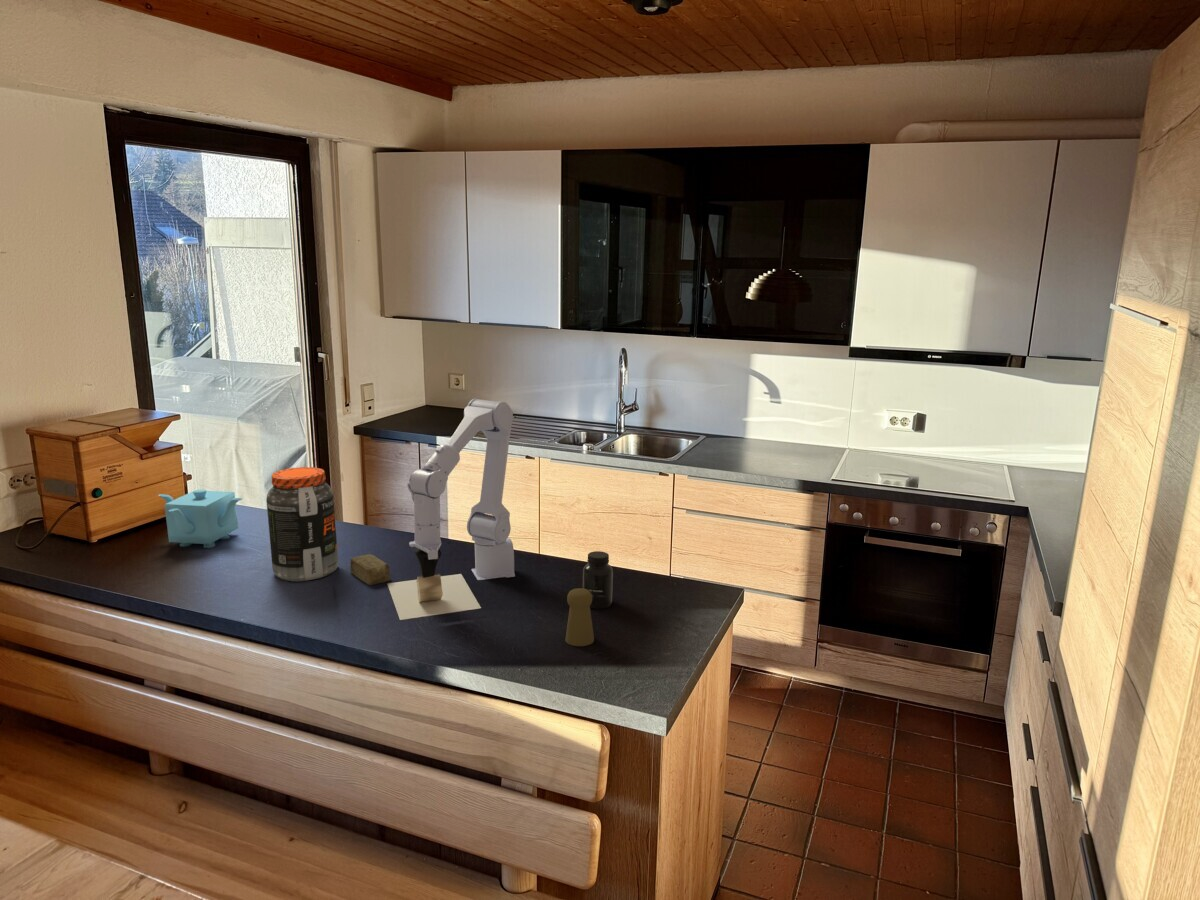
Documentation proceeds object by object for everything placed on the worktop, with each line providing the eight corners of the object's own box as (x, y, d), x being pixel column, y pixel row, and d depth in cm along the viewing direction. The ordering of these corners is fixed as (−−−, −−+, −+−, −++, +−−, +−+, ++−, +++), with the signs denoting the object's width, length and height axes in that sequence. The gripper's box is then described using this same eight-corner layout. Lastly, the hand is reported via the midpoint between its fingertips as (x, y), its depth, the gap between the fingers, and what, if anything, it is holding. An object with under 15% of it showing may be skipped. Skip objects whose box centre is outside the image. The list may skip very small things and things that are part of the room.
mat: (461, 576, 210) (461, 573, 210) (481, 610, 190) (481, 608, 190) (387, 585, 204) (387, 583, 204) (400, 622, 184) (399, 619, 184)
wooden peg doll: (564, 633, 179) (564, 585, 176) (593, 632, 179) (593, 584, 177) (566, 646, 173) (565, 596, 170) (595, 645, 173) (595, 595, 171)
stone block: (370, 588, 202) (369, 569, 201) (349, 575, 211) (348, 556, 210) (392, 583, 206) (391, 563, 205) (370, 570, 214) (369, 551, 213)
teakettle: (230, 526, 247) (225, 478, 244) (249, 543, 232) (244, 492, 229) (159, 539, 236) (153, 489, 232) (174, 558, 221) (167, 504, 218)
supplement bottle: (590, 611, 189) (591, 561, 187) (577, 601, 195) (577, 552, 193) (617, 606, 193) (618, 556, 190) (603, 595, 198) (604, 547, 196)
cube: (440, 573, 192) (442, 594, 190) (438, 578, 196) (440, 599, 194) (417, 575, 190) (420, 597, 188) (416, 581, 194) (418, 602, 193)
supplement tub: (340, 579, 208) (333, 477, 202) (272, 587, 203) (263, 483, 197) (337, 557, 222) (330, 462, 216) (273, 564, 217) (264, 467, 211)
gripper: (404, 515, 194) (405, 572, 197) (414, 532, 181) (415, 592, 183) (435, 513, 197) (435, 569, 199) (447, 530, 183) (447, 589, 186)
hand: (428, 580), depth 191 cm, fingers closed, pressing on cube
